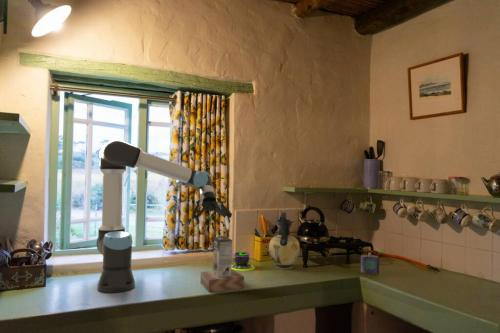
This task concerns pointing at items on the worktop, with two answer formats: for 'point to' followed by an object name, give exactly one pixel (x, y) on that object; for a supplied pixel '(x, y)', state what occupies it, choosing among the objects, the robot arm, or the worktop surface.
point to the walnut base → (222, 281)
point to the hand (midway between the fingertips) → (215, 228)
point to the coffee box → (222, 256)
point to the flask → (370, 264)
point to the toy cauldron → (242, 261)
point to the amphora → (284, 244)
